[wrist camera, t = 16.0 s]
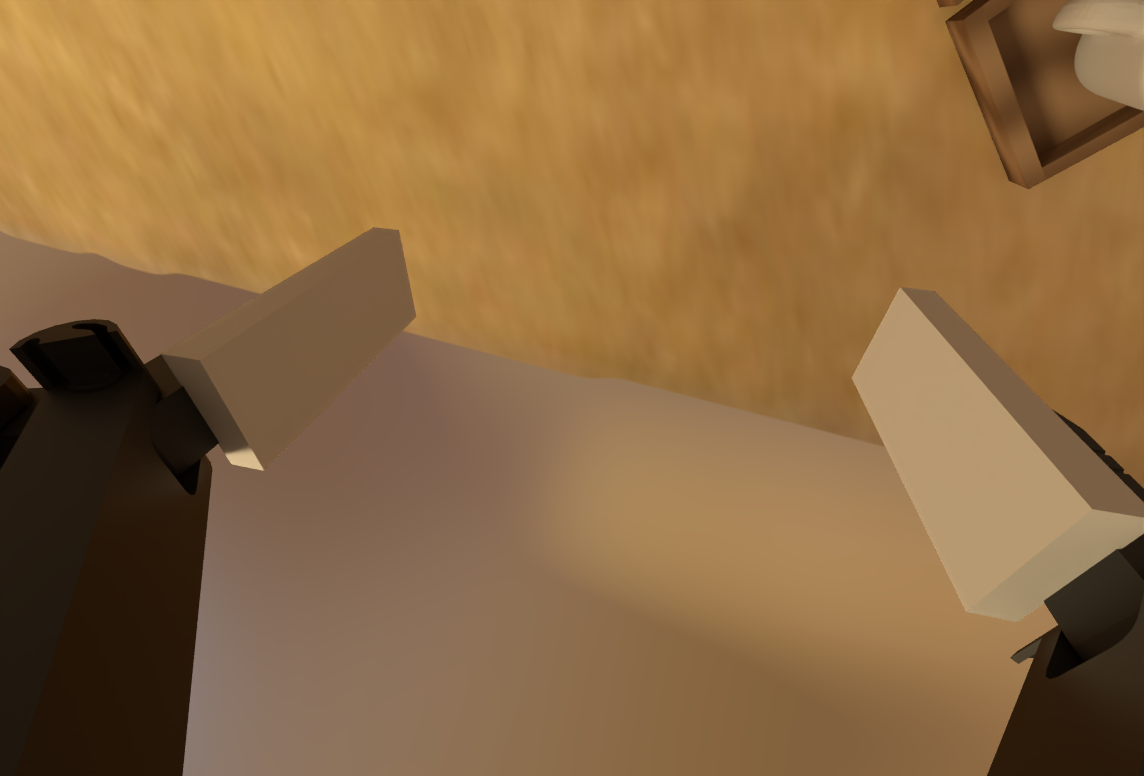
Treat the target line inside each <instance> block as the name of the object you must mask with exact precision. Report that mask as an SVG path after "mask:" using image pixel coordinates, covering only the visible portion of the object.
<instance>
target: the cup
mask: <svg viewBox="0 0 1144 776" xmlns="http://www.w3.org/2000/svg"><path fill="white" fill-rule="evenodd" d="M1053 28H1054V29H1056V30H1060V31H1065V32H1072V33H1079V34H1082V36H1081V38H1080V40H1079V43H1078V46H1077V49H1076V53H1075V60H1074V66H1075V72H1076V75H1077V77H1078V79H1079V81H1080V83H1081V84H1082V85H1083V86H1084V87H1085V88H1087V89H1088V90H1089V91H1091V92H1093V93H1095V94H1097V95H1099V96H1102V97H1104V98H1107V99H1110V100H1113V101H1116V102H1119V103H1122V104H1125V105H1128V106H1131V107H1134V108H1137V109H1140V110H1143V111H1144V0H1070V1H1068V2H1067V3H1066V4H1065V5H1064V6H1063V7H1062V8H1061V10H1060V11H1059V12H1058V14H1057V15H1056V17H1055V19H1054V21H1053Z"/></svg>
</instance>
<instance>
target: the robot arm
mask: <svg viewBox="0 0 1144 776" xmlns="http://www.w3.org/2000/svg"><path fill="white" fill-rule="evenodd" d="M415 317H416V313H415V308H414V303H413V298H412V293H411V288H410V283H409V278H408V273H407V268H406V263H405V258H404V254H403V249H402V244H401V239H400V234H399V230H393V229H384V228H375V227H374V228H372V229H370V230H369V231H367V232H365V233H363V234H362V235H360V236H358V237H357V238H355V239H353V240H352V241H350V242H348V243H347V244H345V245H343V246H342V247H340V248H338V249H336V250H335V251H333V252H331V253H330V254H328V255H326V256H325V257H323V258H321V259H320V260H318V261H316V262H315V263H313V264H311V265H309V266H308V267H306V268H304V269H303V270H301V271H299V272H298V273H296V274H294V275H293V276H291V277H289V278H288V279H286V280H284V281H282V282H281V283H279V284H277V285H276V286H274V287H272V288H271V289H269V290H267V291H266V292H264V293H262V294H261V295H259V296H257V297H256V298H254V299H252V300H251V301H249V302H247V303H245V304H244V305H242V306H241V307H239V308H237V309H235V310H234V311H232V312H230V313H229V314H227V315H225V316H224V317H222V318H220V319H218V320H217V321H215V322H213V323H212V324H210V325H208V326H207V327H205V328H203V329H201V330H200V331H198V332H196V333H195V334H193V335H191V336H190V337H188V338H186V339H185V340H183V341H181V342H180V343H178V344H176V345H175V346H173V347H171V348H169V349H168V350H166V351H164V352H163V353H161V355H159V356H158V357H156V358H154V359H153V360H151V361H149V362H148V363H146V364H143V362H142V361H141V359H140V358H139V356H138V355H137V354H136V352H135V351H134V349H133V348H132V346H131V345H130V343H129V342H128V340H127V339H126V337H125V336H124V334H123V333H122V332H121V330H120V329H119V327H118V326H117V324H115V323H113V322H111V321H109V320H96V319H92V320H82V321H75V322H70V323H66V324H61V325H56V326H53V327H50V328H47V329H44V330H41V331H39V332H36V333H34V334H32V335H30V336H28V337H26V338H24V339H22V340H20V341H18V342H17V343H16V344H15V345H14V346H12V347H11V348H10V349H9V350H10V351H11V352H12V353H13V354H14V355H15V356H16V357H17V359H18V360H19V361H20V362H21V363H22V364H23V365H24V367H25V368H26V369H27V370H28V371H29V372H30V373H31V374H32V376H33V377H34V378H35V379H36V380H37V381H38V382H39V383H40V385H41V386H42V387H43V388H30V389H28V388H27V387H25V385H24V384H23V383H22V382H21V381H20V380H19V379H18V378H17V376H16V375H15V374H14V373H13V372H12V371H11V370H10V369H8V368H5V367H3V366H0V776H182V775H183V764H184V753H185V743H186V734H187V733H186V732H187V723H188V712H189V703H190V692H191V682H192V672H193V662H194V652H195V642H196V641H195V640H196V631H197V621H198V609H199V600H200V590H201V580H202V569H203V560H204V548H205V538H206V529H207V519H208V518H207V517H208V508H209V498H210V488H211V477H212V466H211V462H210V461H209V459H208V458H207V456H206V455H205V454H206V453H208V452H209V451H210V450H211V449H212V448H214V447H215V446H216V445H217V444H219V445H220V447H221V449H222V450H223V452H224V453H225V454H226V456H227V458H228V459H229V461H230V462H231V464H234V465H239V466H243V467H248V468H253V469H259V470H263V471H264V470H265V469H266V468H267V467H268V466H269V465H270V464H271V463H272V462H273V461H274V460H275V459H276V458H277V457H278V456H279V455H280V454H281V453H282V452H283V451H284V450H285V449H286V448H287V447H288V446H289V445H290V444H291V443H292V442H293V441H294V440H295V439H296V438H297V437H298V436H299V435H300V434H301V433H302V432H303V431H304V430H305V429H306V428H307V427H308V426H309V425H310V424H311V423H312V422H313V421H314V420H315V419H316V418H317V417H318V416H319V415H320V414H321V412H323V411H324V410H325V409H326V407H328V405H329V404H330V403H331V402H332V401H333V400H334V399H335V398H336V397H337V396H338V395H339V394H340V393H341V392H342V391H343V390H344V389H345V388H346V387H347V386H348V385H349V384H350V383H351V382H352V381H353V380H354V379H355V378H356V377H357V376H358V375H359V374H360V373H361V372H362V371H363V370H364V369H365V368H366V367H367V366H368V365H369V364H370V363H371V362H372V361H373V360H374V359H375V358H376V357H377V356H378V355H379V354H380V353H381V352H382V351H383V350H384V349H385V348H386V347H387V346H388V345H389V343H391V342H392V341H393V339H395V338H396V337H397V335H399V334H400V332H401V331H402V330H403V329H404V328H405V327H406V326H407V325H408V324H409V323H410V322H411V321H412V320H413V319H414V318H415ZM852 379H853V381H854V383H855V386H856V388H857V390H858V392H859V394H860V396H861V398H862V400H863V402H864V404H865V406H866V408H867V410H868V412H869V414H870V416H871V418H872V420H873V422H874V424H875V426H876V429H877V431H878V433H879V435H880V437H881V439H882V441H883V443H884V445H885V447H886V449H887V451H888V453H889V455H890V457H891V459H892V461H893V463H894V465H895V467H896V470H897V472H898V474H899V476H900V478H901V480H902V482H903V484H904V486H905V488H906V490H907V492H908V494H909V496H910V498H911V500H912V502H913V504H914V506H915V508H916V510H917V512H918V515H919V517H920V519H921V521H922V523H923V525H924V527H925V529H926V531H927V533H928V535H929V537H930V539H931V541H932V543H933V545H934V547H935V549H936V551H937V553H938V555H939V558H940V560H941V562H942V564H943V566H944V568H945V570H946V572H947V574H948V576H949V578H950V580H951V582H952V584H953V586H954V588H955V590H956V592H957V594H958V596H959V599H960V601H961V603H962V605H963V607H964V609H965V611H966V612H970V613H975V614H980V615H985V616H990V617H995V618H1000V619H1005V620H1010V621H1015V622H1018V621H1020V620H1021V619H1022V618H1024V617H1025V616H1027V615H1028V614H1030V613H1031V612H1032V611H1034V610H1035V609H1037V608H1038V607H1039V606H1041V605H1042V604H1044V603H1045V604H1046V606H1047V608H1048V609H1049V611H1050V612H1051V614H1052V615H1053V617H1054V619H1055V620H1056V622H1057V623H1058V626H1056V627H1055V628H1053V629H1051V630H1050V631H1048V632H1047V633H1045V634H1044V635H1042V636H1040V637H1039V638H1037V639H1036V640H1034V641H1033V642H1031V643H1029V644H1028V645H1026V646H1025V647H1023V648H1022V649H1020V650H1018V651H1017V652H1016V653H1015V654H1014V655H1013V656H1012V657H1011V659H1013V660H1014V661H1015V662H1017V663H1018V664H1019V663H1021V662H1022V661H1024V660H1026V659H1027V658H1034V659H1033V662H1032V664H1031V667H1030V669H1029V672H1028V674H1027V677H1026V679H1025V682H1024V684H1023V687H1022V689H1021V692H1020V694H1019V697H1018V699H1017V702H1016V704H1015V707H1014V709H1013V712H1012V714H1011V717H1010V719H1009V722H1008V724H1007V727H1006V729H1005V732H1004V734H1003V737H1002V739H1001V742H1000V744H999V747H998V750H997V752H996V754H995V757H994V759H993V762H992V764H991V767H990V770H989V772H988V775H987V776H1144V489H1143V488H1142V487H1141V486H1140V485H1139V484H1138V483H1137V482H1136V481H1135V480H1134V479H1133V478H1132V477H1131V476H1130V475H1129V474H1124V473H1123V471H1124V469H1123V468H1122V467H1121V466H1120V465H1119V464H1118V463H1117V462H1116V461H1115V460H1114V459H1113V458H1112V457H1111V456H1108V455H1105V452H1106V451H1105V450H1104V449H1103V448H1102V447H1101V446H1100V445H1099V444H1098V443H1097V442H1096V441H1095V440H1094V439H1092V438H1091V437H1090V436H1089V435H1088V434H1087V433H1086V432H1085V431H1084V430H1083V429H1082V428H1080V427H1079V426H1077V425H1076V424H1074V423H1073V422H1071V421H1069V420H1068V419H1066V418H1065V417H1063V416H1062V415H1060V414H1059V413H1057V412H1056V411H1054V410H1052V409H1051V408H1050V407H1049V406H1048V405H1047V404H1046V403H1045V402H1044V401H1043V400H1042V399H1041V398H1040V397H1039V396H1038V395H1037V394H1036V393H1035V392H1034V391H1033V390H1032V389H1031V388H1030V387H1029V386H1028V385H1027V384H1026V383H1025V382H1024V381H1023V380H1022V379H1021V378H1020V377H1019V376H1018V375H1017V374H1016V373H1015V372H1014V371H1013V370H1012V369H1011V368H1010V367H1009V366H1008V365H1007V364H1006V363H1005V362H1004V361H1003V360H1002V359H1001V358H1000V357H999V356H998V355H997V354H996V353H995V352H994V351H993V350H992V349H991V348H990V347H989V346H988V345H987V344H986V343H985V342H984V341H983V340H982V339H981V337H980V336H979V335H978V334H977V333H976V332H975V331H974V330H973V329H972V328H971V327H970V326H969V325H968V324H967V323H966V322H965V321H964V320H963V319H962V318H961V317H960V316H959V315H958V314H957V313H956V312H955V311H954V310H953V309H952V308H951V307H950V306H949V305H948V304H947V303H946V302H945V301H944V300H943V299H942V298H941V297H940V296H939V295H938V294H937V293H936V292H935V291H930V290H921V289H912V288H903V287H900V288H899V290H898V292H897V294H896V296H895V298H894V300H893V302H892V303H891V305H890V307H889V309H888V311H887V313H886V315H885V317H884V318H883V320H882V322H881V324H880V326H879V328H878V330H877V332H876V333H875V335H874V337H873V339H872V341H871V343H870V345H869V347H868V348H867V350H866V352H865V354H864V356H863V358H862V360H861V362H860V363H859V365H858V367H857V369H856V371H855V373H854V375H853V377H852Z"/></svg>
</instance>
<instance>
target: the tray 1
mask: <svg viewBox="0 0 1144 776" xmlns="http://www.w3.org/2000/svg"><path fill="white" fill-rule="evenodd" d="M962 1H963V0H937V2H938V4H939V7H946V6H954V5H958V4H959V3H961V2H962Z"/></svg>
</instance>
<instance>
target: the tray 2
mask: <svg viewBox="0 0 1144 776" xmlns="http://www.w3.org/2000/svg"><path fill="white" fill-rule="evenodd" d="M1068 1H1070V0H973V1H972V2H971V3H969V4H968V5H967V6H965V7H964V8H963V9H961V10H960V11H959V12H957V13H956V14H955V15H953V16H952V17H951V18H950V19H948V20H947V21H946V24H947V27H948V29H949V32H950V34H951V37H952V39H953V42H954V44H955V47H956V49H957V52H958V54H959V57H960V59H961V62H962V64H963V67H964V69H965V72H966V74H967V77H968V79H969V82H970V84H971V87H972V89H973V92H974V94H975V97H976V99H977V102H978V104H979V107H980V109H981V112H982V114H983V117H984V119H985V122H986V124H987V126H988V129H989V131H990V134H991V136H992V139H993V141H994V144H995V146H996V149H997V151H998V154H999V156H1000V159H1001V161H1002V164H1003V166H1004V169H1005V171H1006V174H1007V176H1008V179H1009V181H1011V182H1013V183H1015V184H1018V185H1020V186H1022V187H1025V188H1027V189H1030V188H1032V187H1033V186H1035V185H1037V184H1039V183H1041V182H1043V181H1045V180H1046V179H1048V178H1050V177H1052V176H1054V175H1056V174H1057V173H1059V172H1061V171H1063V170H1065V169H1067V168H1069V167H1070V166H1072V165H1074V164H1076V163H1078V162H1080V161H1082V160H1083V159H1085V158H1087V157H1089V156H1091V155H1093V154H1094V153H1096V152H1098V151H1100V150H1102V149H1104V148H1106V147H1107V146H1109V145H1111V144H1113V143H1115V142H1117V141H1118V140H1120V139H1122V138H1124V137H1126V136H1128V135H1130V134H1131V133H1133V132H1135V131H1137V130H1139V129H1141V128H1143V127H1144V111H1143V110H1140V109H1137V108H1134V107H1131V106H1128V105H1125V104H1122V103H1119V102H1116V101H1113V100H1110V99H1107V98H1104V97H1102V96H1099V95H1097V94H1095V93H1093V92H1091V91H1089V90H1088V89H1087V88H1085V87H1084V86H1083V85H1082V84H1081V83H1080V81H1079V79H1078V77H1077V75H1076V72H1075V66H1074V60H1075V53H1076V49H1077V46H1078V43H1079V40H1080V38H1081V36H1082V34H1079V33H1072V32H1065V31H1060V30H1056V29H1054V28H1053V21H1054V19H1055V17H1056V15H1057V14H1058V12H1059V11H1060V10H1061V8H1062V7H1063V6H1064V5H1065V4H1066V3H1067V2H1068Z"/></svg>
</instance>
